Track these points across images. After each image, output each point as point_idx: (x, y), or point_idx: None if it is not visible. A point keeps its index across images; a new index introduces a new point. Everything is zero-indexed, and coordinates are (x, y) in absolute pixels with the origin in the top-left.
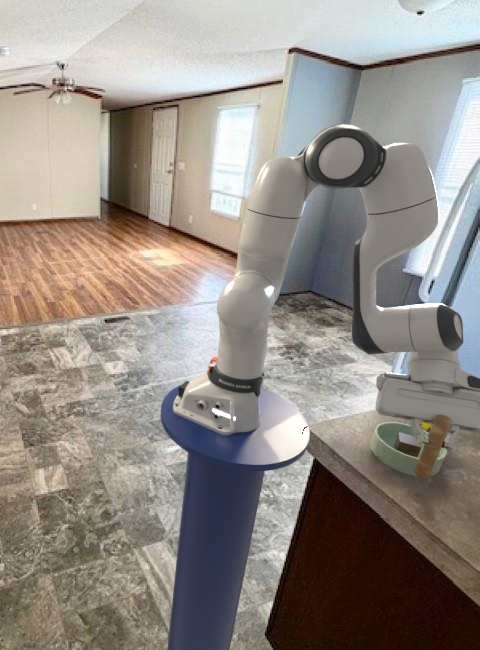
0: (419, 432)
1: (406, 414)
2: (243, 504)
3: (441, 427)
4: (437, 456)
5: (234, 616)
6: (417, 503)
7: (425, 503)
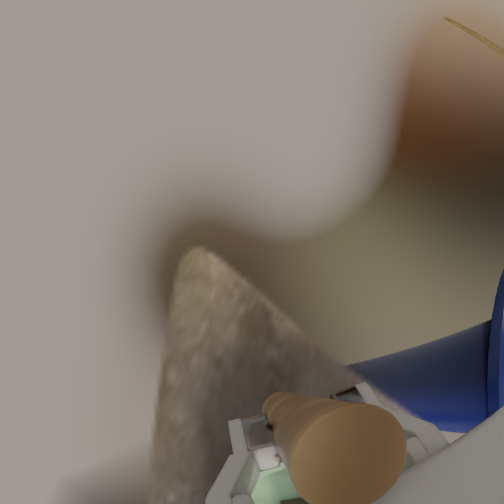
0: (389, 408)
1: (496, 414)
2: (455, 348)
3: (339, 400)
4: (269, 410)
5: None
6: (270, 360)
7: (252, 371)
